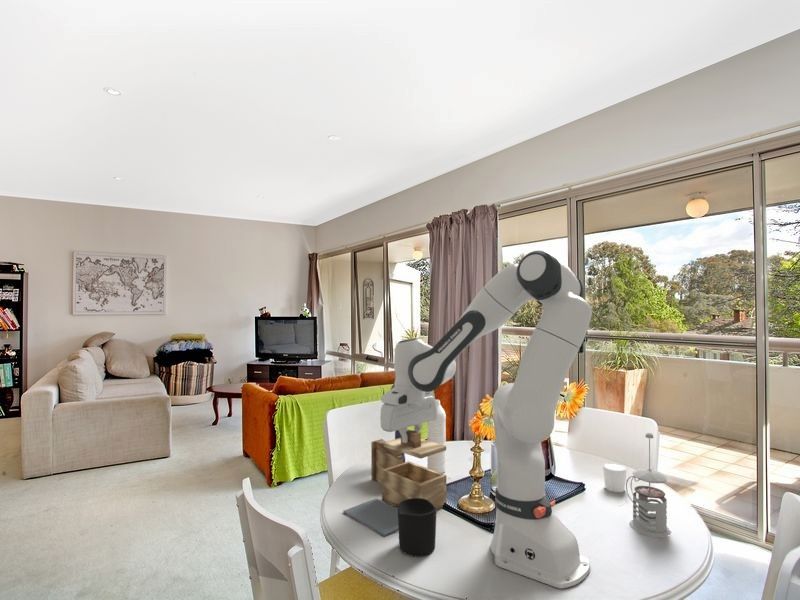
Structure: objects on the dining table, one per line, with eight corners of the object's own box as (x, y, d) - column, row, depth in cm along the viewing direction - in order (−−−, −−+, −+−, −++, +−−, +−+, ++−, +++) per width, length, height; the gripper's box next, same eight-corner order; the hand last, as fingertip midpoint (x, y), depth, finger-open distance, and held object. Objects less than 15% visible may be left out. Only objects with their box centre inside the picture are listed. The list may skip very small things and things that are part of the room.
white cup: (622, 485, 148) (622, 463, 148) (629, 493, 142) (629, 471, 142) (600, 483, 149) (600, 462, 150) (606, 492, 143) (606, 469, 143)
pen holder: (441, 541, 113) (441, 501, 113) (429, 561, 104) (429, 518, 105) (406, 534, 117) (405, 495, 117) (391, 553, 108) (391, 511, 108)
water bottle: (447, 468, 163) (447, 398, 163) (444, 475, 157) (443, 402, 157) (423, 466, 166) (423, 397, 166) (419, 472, 159) (419, 400, 159)
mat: (418, 521, 124) (418, 519, 124) (385, 536, 115) (385, 534, 115) (376, 500, 137) (376, 498, 137) (343, 512, 129) (343, 510, 129)
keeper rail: (405, 487, 147) (405, 447, 147) (395, 491, 144) (395, 450, 144) (381, 476, 155) (381, 439, 155) (371, 480, 152) (371, 441, 152)
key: (401, 454, 147) (401, 446, 147) (395, 456, 145) (395, 448, 145) (381, 447, 154) (381, 439, 154) (375, 448, 152) (375, 441, 152)
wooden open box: (446, 506, 133) (446, 475, 133) (419, 518, 125) (419, 485, 125) (408, 489, 145) (408, 461, 145) (382, 499, 137) (382, 469, 137)
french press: (652, 540, 114) (652, 440, 114) (615, 520, 124) (614, 428, 125) (680, 533, 117) (680, 436, 117) (641, 513, 128) (641, 424, 128)
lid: (446, 450, 133) (445, 432, 133) (420, 458, 126) (420, 439, 126) (408, 439, 144) (408, 422, 144) (383, 446, 137) (383, 429, 137)
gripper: (426, 387, 143) (427, 431, 143) (376, 397, 129) (377, 446, 129) (441, 389, 139) (442, 435, 139) (391, 400, 125) (392, 451, 125)
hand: (410, 440), depth 134 cm, fingers closed on lid, 2 cm apart
